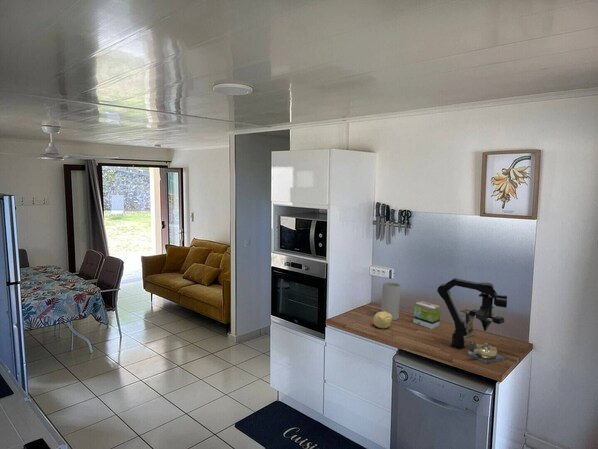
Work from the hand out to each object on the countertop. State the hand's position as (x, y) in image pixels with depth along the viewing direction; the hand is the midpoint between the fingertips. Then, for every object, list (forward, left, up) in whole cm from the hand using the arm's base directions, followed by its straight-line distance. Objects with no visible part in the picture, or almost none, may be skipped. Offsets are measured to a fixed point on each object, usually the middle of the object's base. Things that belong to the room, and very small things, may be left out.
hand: (485, 330), depth 237 cm
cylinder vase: (-70, -13, -13) cm, 72 cm away
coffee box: (-24, +12, -13) cm, 30 cm away
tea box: (-49, +2, -13) cm, 51 cm away
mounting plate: (+5, -5, -13) cm, 15 cm away
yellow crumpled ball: (-57, -30, -13) cm, 66 cm away
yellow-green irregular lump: (+5, -8, -11) cm, 15 cm away
